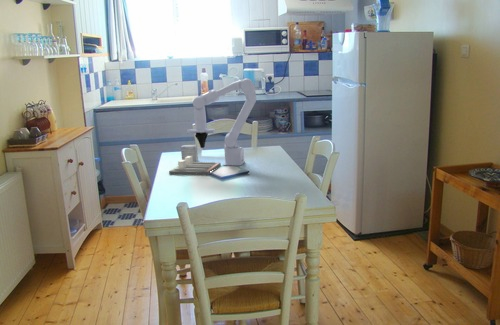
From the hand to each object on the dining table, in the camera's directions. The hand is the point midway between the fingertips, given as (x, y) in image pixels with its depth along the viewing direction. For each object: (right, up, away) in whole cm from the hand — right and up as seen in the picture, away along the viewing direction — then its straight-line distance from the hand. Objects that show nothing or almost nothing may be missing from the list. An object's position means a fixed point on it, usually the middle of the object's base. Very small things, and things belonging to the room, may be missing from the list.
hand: (202, 147), depth 232 cm
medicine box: (-8, -7, +13) cm, 17 cm away
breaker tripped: (-9, -11, -9) cm, 16 cm away
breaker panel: (-3, -11, -6) cm, 13 cm away
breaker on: (-7, -9, -1) cm, 11 cm away
